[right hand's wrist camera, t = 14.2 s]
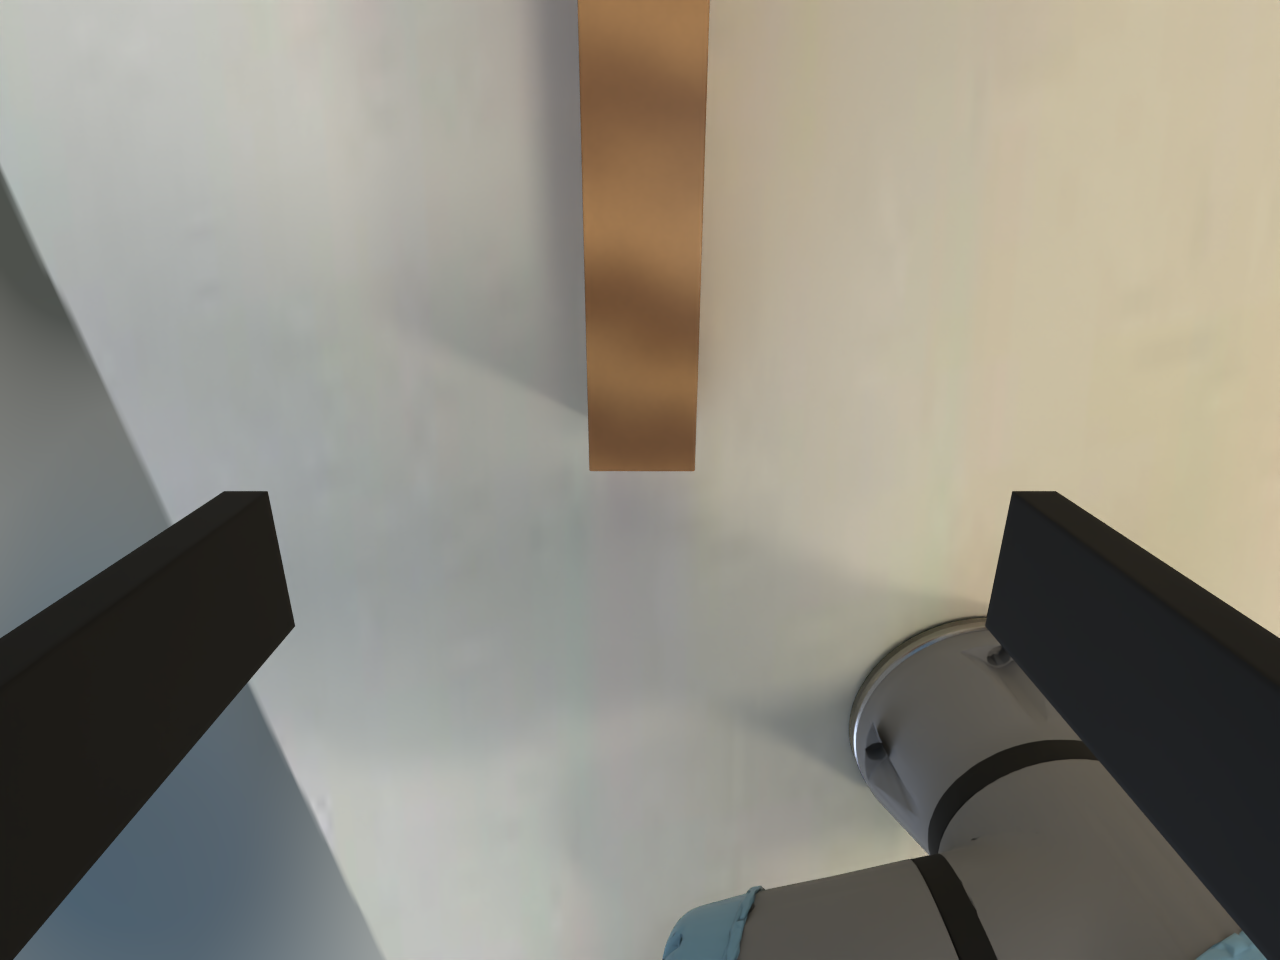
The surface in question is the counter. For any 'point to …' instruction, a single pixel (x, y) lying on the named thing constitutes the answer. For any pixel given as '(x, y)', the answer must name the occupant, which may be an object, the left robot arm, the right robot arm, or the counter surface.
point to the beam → (642, 226)
